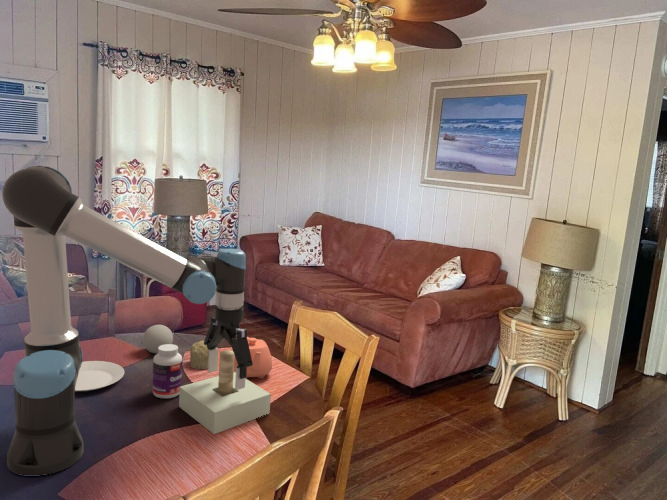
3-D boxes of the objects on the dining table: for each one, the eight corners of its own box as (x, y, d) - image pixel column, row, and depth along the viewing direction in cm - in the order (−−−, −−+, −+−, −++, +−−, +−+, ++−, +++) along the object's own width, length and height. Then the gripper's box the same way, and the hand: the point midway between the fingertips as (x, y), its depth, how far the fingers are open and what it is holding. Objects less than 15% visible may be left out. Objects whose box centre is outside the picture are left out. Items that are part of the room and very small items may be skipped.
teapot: (236, 390, 157) (238, 352, 155) (225, 364, 175) (226, 330, 173) (278, 386, 162) (281, 349, 160) (263, 361, 180) (265, 328, 178)
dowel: (222, 411, 141) (225, 356, 138) (214, 406, 144) (217, 352, 141) (234, 407, 144) (237, 353, 141) (226, 402, 147) (229, 349, 144)
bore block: (213, 434, 132) (214, 412, 131) (179, 406, 144) (179, 386, 143) (269, 413, 144) (270, 393, 143) (233, 390, 157) (234, 371, 156)
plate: (44, 401, 141) (44, 394, 141) (50, 370, 160) (50, 363, 159) (125, 393, 150) (125, 385, 149) (122, 364, 168) (123, 358, 168)
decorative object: (218, 376, 173) (228, 348, 177) (200, 368, 165) (211, 338, 169) (197, 371, 178) (207, 344, 181) (179, 363, 170) (190, 334, 173)
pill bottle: (172, 402, 146) (174, 354, 144) (146, 397, 148) (147, 350, 145) (186, 390, 154) (187, 344, 151) (161, 385, 155) (162, 340, 153)
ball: (178, 353, 181) (179, 326, 179) (153, 360, 173) (153, 332, 171) (161, 345, 187) (162, 318, 185) (136, 351, 179) (137, 324, 177)
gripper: (268, 316, 133) (264, 392, 137) (216, 293, 150) (213, 361, 154) (245, 321, 128) (240, 400, 131) (193, 296, 145) (190, 367, 148)
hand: (225, 379), depth 143 cm, fingers open, 13 cm apart
